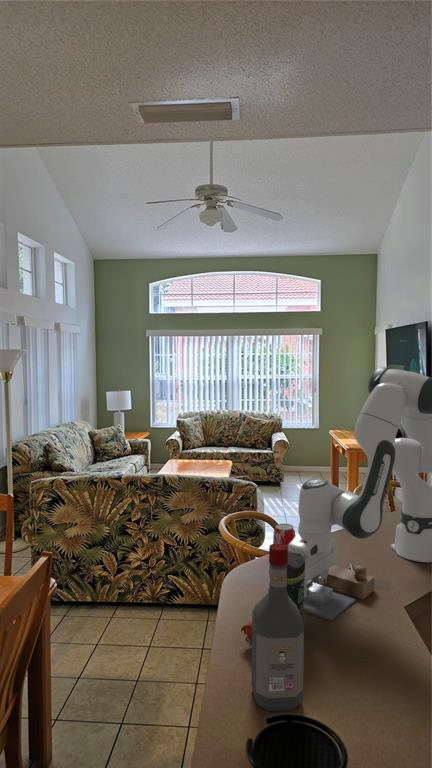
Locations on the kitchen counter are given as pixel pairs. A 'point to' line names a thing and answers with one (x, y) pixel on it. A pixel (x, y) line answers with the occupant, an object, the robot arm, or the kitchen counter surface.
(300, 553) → the robot arm
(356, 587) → the hand plane
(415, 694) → the kitchen counter surface
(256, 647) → the liquor
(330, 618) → the rubber mat
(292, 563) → the coffee jar
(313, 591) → the lever cap
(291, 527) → the soda can
